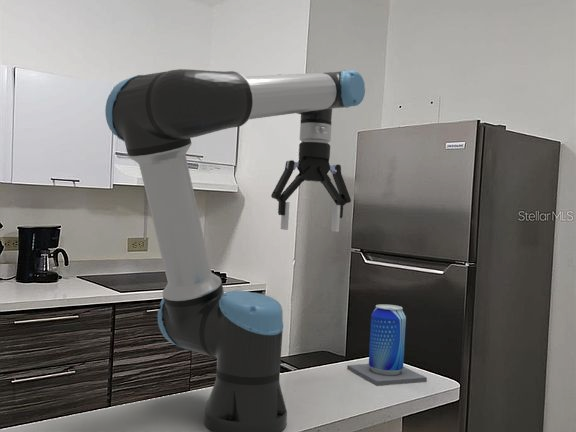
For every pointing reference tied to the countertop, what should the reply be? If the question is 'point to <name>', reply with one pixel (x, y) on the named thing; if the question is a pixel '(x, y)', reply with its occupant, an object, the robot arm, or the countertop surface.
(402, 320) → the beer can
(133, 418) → the countertop surface
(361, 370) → the mat
